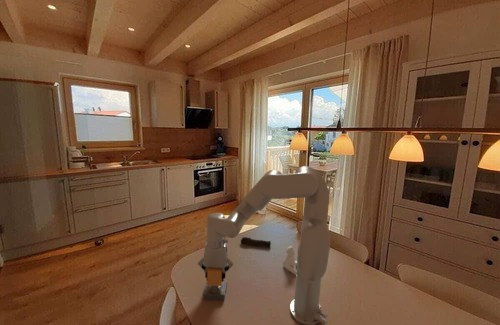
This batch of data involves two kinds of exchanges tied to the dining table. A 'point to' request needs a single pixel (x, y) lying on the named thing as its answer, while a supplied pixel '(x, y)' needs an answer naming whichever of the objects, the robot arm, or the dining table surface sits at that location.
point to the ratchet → (215, 292)
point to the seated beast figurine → (290, 261)
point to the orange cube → (214, 276)
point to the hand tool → (255, 242)
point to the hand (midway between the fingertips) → (215, 278)
